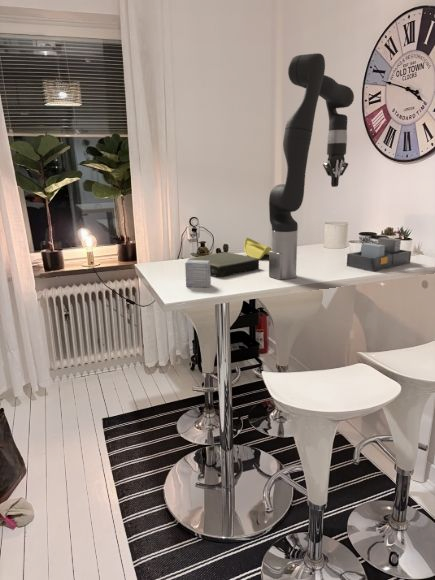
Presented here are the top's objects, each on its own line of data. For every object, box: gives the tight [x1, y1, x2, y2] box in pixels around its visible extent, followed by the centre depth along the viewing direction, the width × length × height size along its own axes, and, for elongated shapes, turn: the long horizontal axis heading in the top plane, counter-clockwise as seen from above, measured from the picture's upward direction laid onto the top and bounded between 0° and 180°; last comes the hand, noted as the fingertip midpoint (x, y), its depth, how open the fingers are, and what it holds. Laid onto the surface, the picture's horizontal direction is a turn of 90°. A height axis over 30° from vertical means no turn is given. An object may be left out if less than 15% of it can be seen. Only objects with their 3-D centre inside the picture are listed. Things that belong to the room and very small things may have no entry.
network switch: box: [187, 251, 260, 278], centre depth 171 cm, size 23×23×5 cm
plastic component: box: [243, 237, 271, 261], centre depth 197 cm, size 20×7×10 cm
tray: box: [346, 236, 412, 273], centre depth 172 cm, size 24×13×10 cm, turn 123°
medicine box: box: [184, 260, 212, 288], centre depth 146 cm, size 8×4×9 cm, turn 78°
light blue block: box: [361, 242, 385, 258], centre depth 169 cm, size 4×8×8 cm, turn 33°
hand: (334, 186), depth 176 cm, fingers closed
